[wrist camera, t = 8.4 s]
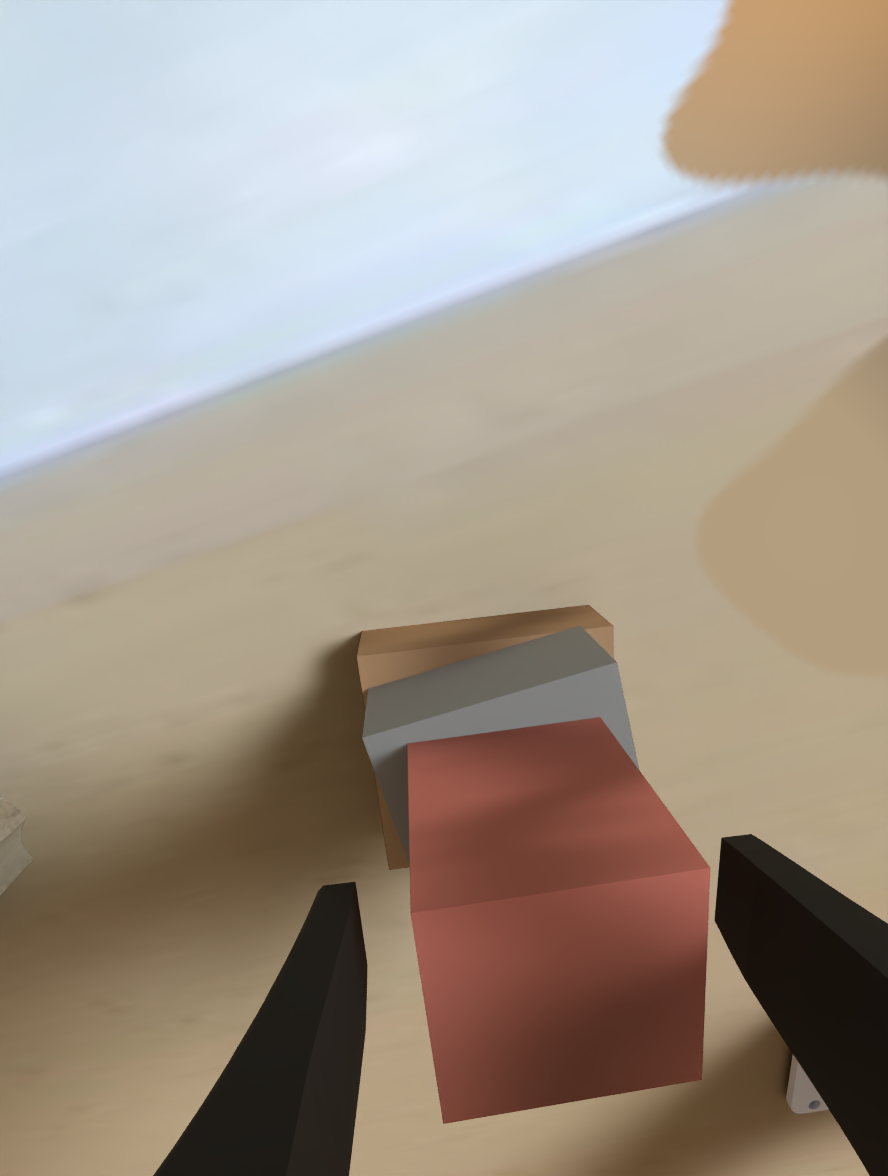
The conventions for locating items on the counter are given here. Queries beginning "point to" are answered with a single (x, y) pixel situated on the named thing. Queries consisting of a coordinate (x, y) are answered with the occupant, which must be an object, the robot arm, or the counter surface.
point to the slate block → (491, 704)
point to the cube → (552, 920)
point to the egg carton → (11, 844)
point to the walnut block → (457, 660)
